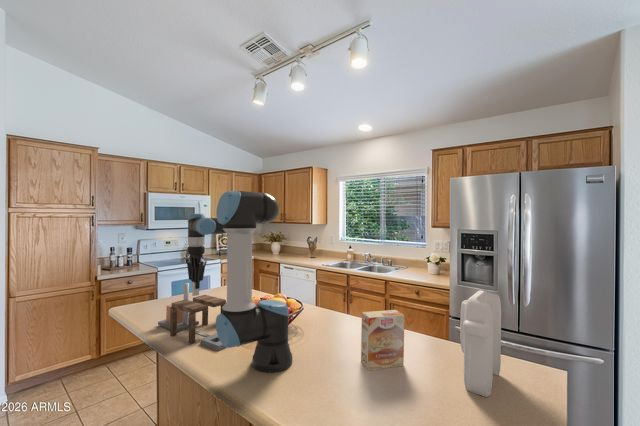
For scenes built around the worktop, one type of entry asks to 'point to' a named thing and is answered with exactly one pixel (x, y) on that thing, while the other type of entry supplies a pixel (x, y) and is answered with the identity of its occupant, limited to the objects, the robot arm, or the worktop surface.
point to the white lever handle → (178, 314)
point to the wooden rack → (193, 313)
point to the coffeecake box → (382, 339)
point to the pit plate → (213, 342)
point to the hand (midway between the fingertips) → (195, 295)
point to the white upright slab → (481, 341)
